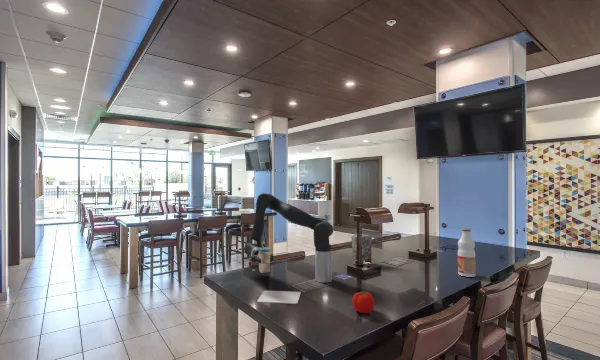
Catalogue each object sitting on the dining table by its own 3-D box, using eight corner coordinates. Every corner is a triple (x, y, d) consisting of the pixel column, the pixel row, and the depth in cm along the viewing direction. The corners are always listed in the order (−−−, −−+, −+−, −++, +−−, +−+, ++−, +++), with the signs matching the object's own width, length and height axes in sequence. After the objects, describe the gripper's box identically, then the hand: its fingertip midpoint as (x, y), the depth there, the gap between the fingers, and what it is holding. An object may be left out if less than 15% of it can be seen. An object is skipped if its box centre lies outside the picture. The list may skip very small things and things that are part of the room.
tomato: (371, 307, 136) (371, 288, 136) (377, 316, 126) (377, 296, 126) (350, 307, 136) (350, 288, 136) (355, 317, 126) (355, 296, 126)
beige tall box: (267, 269, 166) (267, 247, 166) (270, 271, 161) (269, 249, 162) (258, 270, 164) (258, 248, 165) (260, 272, 160) (260, 249, 160)
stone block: (357, 266, 206) (357, 236, 206) (351, 264, 212) (350, 235, 212) (372, 264, 211) (372, 235, 212) (366, 261, 218) (366, 233, 218)
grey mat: (301, 292, 155) (301, 291, 155) (297, 303, 140) (297, 303, 140) (264, 291, 157) (264, 290, 157) (256, 302, 142) (256, 301, 142)
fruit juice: (471, 279, 176) (471, 230, 177) (455, 275, 183) (454, 229, 184) (478, 276, 182) (477, 229, 183) (462, 272, 189) (461, 227, 190)
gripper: (246, 248, 174) (251, 254, 158) (270, 246, 179) (278, 252, 163) (246, 262, 174) (252, 269, 158) (270, 259, 179) (278, 266, 163)
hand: (265, 260), depth 161 cm, fingers closed on beige tall box, 5 cm apart
